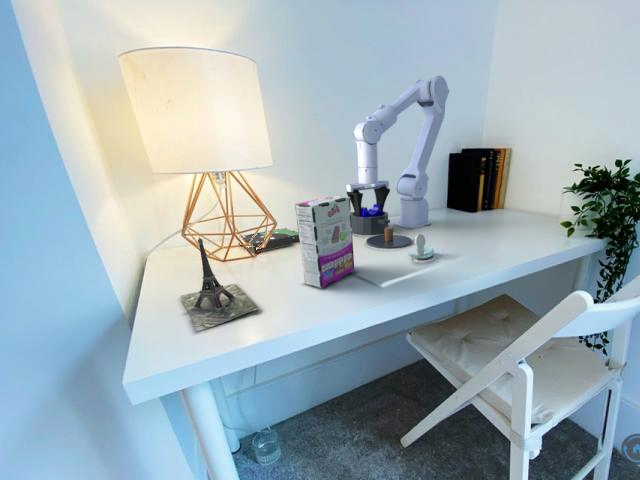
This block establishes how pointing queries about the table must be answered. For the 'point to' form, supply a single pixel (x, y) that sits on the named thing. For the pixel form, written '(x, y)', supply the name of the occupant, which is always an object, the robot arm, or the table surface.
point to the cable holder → (371, 211)
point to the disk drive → (272, 239)
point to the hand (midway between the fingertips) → (369, 213)
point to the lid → (388, 240)
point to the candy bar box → (325, 239)
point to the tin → (369, 224)
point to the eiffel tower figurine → (215, 299)
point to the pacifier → (422, 250)
